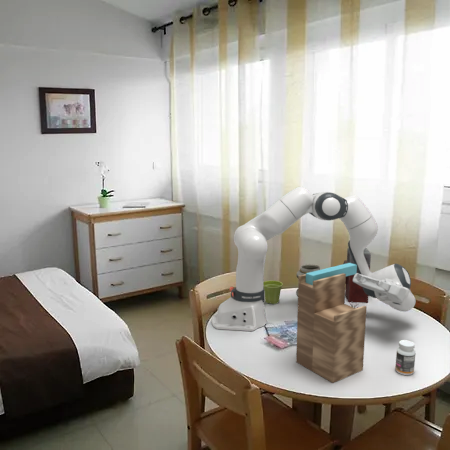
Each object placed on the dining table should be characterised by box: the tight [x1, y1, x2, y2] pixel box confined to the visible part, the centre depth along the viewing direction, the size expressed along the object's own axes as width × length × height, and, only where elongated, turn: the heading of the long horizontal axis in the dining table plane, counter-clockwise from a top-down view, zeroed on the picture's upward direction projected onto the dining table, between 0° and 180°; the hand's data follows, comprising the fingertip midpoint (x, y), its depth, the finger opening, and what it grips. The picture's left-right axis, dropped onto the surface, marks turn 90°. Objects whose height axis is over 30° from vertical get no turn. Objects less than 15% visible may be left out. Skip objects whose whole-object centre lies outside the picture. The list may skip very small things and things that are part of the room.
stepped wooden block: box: [295, 273, 367, 384], centre depth 155 cm, size 14×16×30 cm
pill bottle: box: [395, 339, 416, 376], centre depth 154 cm, size 6×6×10 cm
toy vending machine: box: [342, 247, 372, 304], centre depth 217 cm, size 9×11×28 cm
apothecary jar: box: [295, 263, 321, 298], centre depth 210 cm, size 12×12×18 cm
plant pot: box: [263, 280, 284, 305], centre depth 216 cm, size 9×9×9 cm
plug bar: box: [306, 263, 357, 285], centre depth 160 cm, size 21×3×3 cm, turn 125°
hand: (367, 279), depth 171 cm, fingers open, 8 cm apart
